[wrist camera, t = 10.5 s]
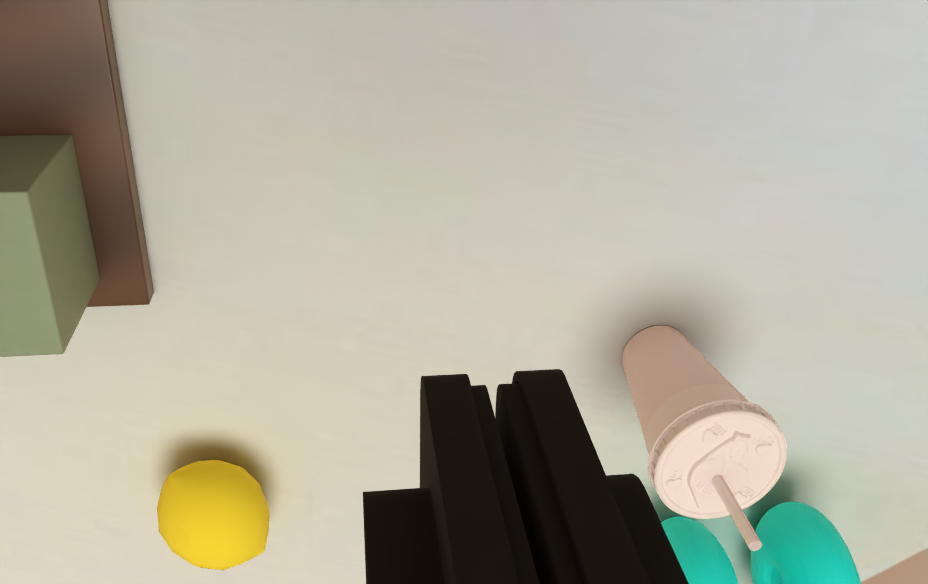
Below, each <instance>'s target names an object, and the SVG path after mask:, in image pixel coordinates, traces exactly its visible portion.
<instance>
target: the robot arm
mask: <svg viewBox="0 0 928 584" xmlns="http://www.w3.org/2000/svg"><path fill="white" fill-rule="evenodd" d="M363 508H364V537H365V563H366V584H689V583H688V581H687V579H686V576H685V574H684V572H683V570H682V568H681V566H680V563H679V561H678V559H677V557H676V555H675V553H674V550H673V548H672V546H671V544H670V542H669V539H668V537H667V535H666V533H665V531H664V529H663V526H662V524H661V522H660V520H659V518H658V516H657V513H656V511H655V509H654V507H653V505H652V503H651V500H650V498H649V496H648V494H647V492H646V490H645V487H644V486H643V484H642V482H641V481H640V479H639V478H638V477H637V476H636V475H634V474H624V475H609V476H606V475H605V472H604V470H603V467H602V465H601V462H600V460H599V458H598V455H597V453H596V450H595V448H594V445H593V443H592V441H591V438H590V436H589V433H588V431H587V428H586V426H585V424H584V421H583V419H582V416H581V414H580V411H579V409H578V407H577V404H576V402H575V399H574V397H573V394H572V392H571V389H570V387H569V385H568V382H567V380H566V377H565V375H564V373H563V371H562V370H560V369H554V370H535V371H516V372H515V373H514V376H513V381H512V384H499V385H498V388H497V396H496V414H495V416H494V412H493V409H492V405H491V401H490V398H489V394H488V390H487V387H486V386H485V385H478V386H471V384H470V380H469V377H468V375H467V374H456V375H437V376H422V377H421V389H420V488H416V489H401V490H386V491H372V492H363Z"/></svg>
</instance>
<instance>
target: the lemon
mask: <svg viewBox="0 0 928 584" xmlns="http://www.w3.org/2000/svg"><path fill="white" fill-rule="evenodd" d="M157 513H158V524H159V532H160V534H161V535H162V537H163V538H164V540H165V541H166V543H167V544H168V546H169V547H170V549H171V550H172V552H174V553H175V554H177V555H178V556H180V557H182V558H183V559H185V560H186V561H188V562H189V563H191V564H193V565H195V566H198V567H201V568H208V569H217V570H225V569H228V568H231V567H233V566H236V565H240V564H242V563H244V562H246V561H248V560H250V559H252V558H254V557H256V556H257V555H259V554H261V553H263V552H264V550H265V547H266V542H267V536H268V530H269V509H268V505H267V502H266V500H265V497H264V494H263V491H262V489H261V486H260V484H259V483H258V482H257V481H256V480H255V479H254V478H253V477H252V476H251V475H250V474H249V473H248V472H247V471H246V470H245V469H244V468H243V467H240V466H236V465H233V464H230V463H227V462H224V461H221V460H208V461H197V462H194V463H191V464H189V465H186V466H184V467H181V468H179V469H178V470H176V471H174V472H173V473H171V474H170V475H169V476H168V477H167V478H166V480H165V482H164V485H163V487H162V490H161V494H160V498H159V502H158V506H157Z"/></svg>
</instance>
